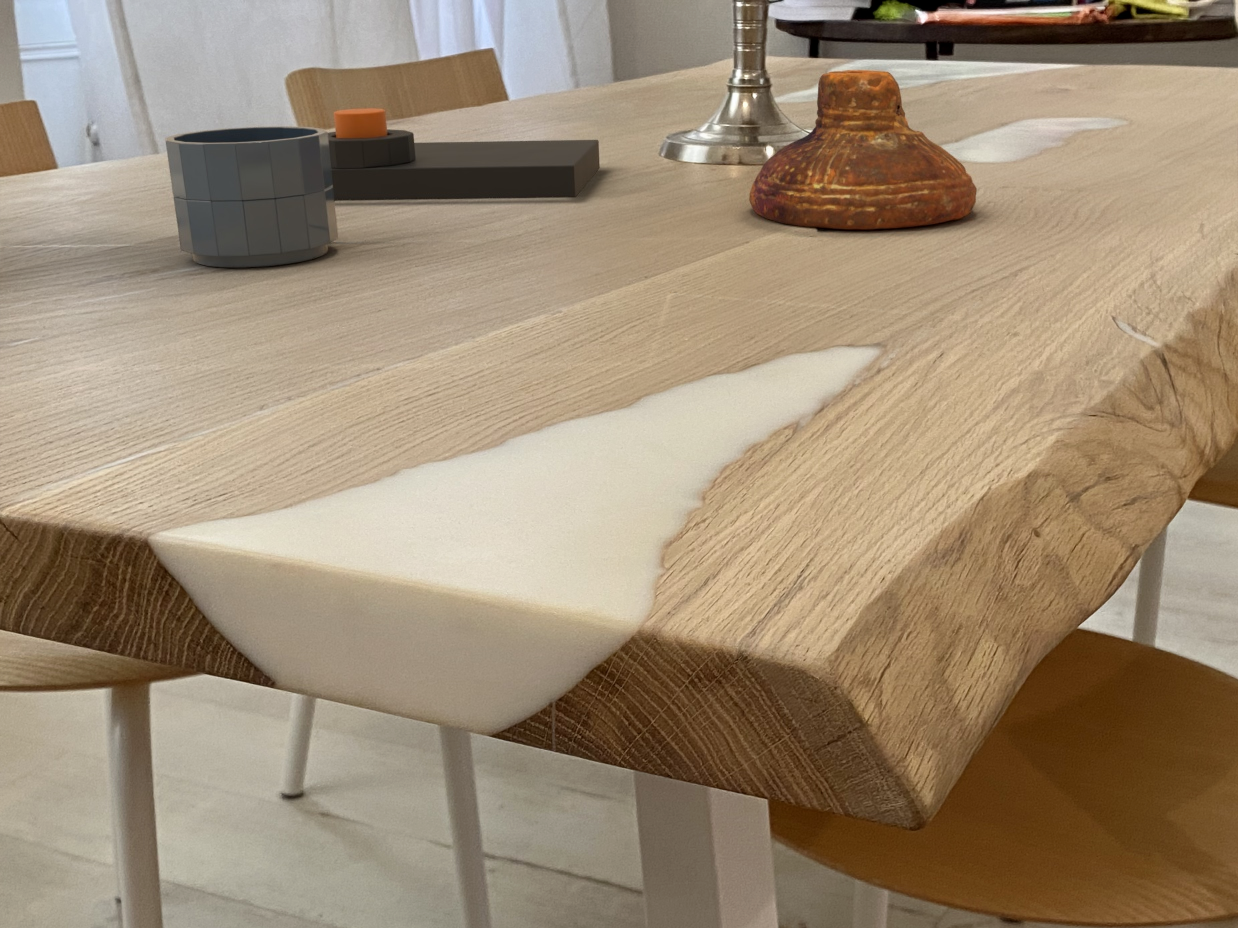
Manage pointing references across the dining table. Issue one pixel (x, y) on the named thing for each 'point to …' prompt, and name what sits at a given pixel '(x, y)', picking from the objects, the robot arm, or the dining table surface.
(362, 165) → the scale
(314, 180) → the blue-grey cup
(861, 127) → the bell
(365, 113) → the button
